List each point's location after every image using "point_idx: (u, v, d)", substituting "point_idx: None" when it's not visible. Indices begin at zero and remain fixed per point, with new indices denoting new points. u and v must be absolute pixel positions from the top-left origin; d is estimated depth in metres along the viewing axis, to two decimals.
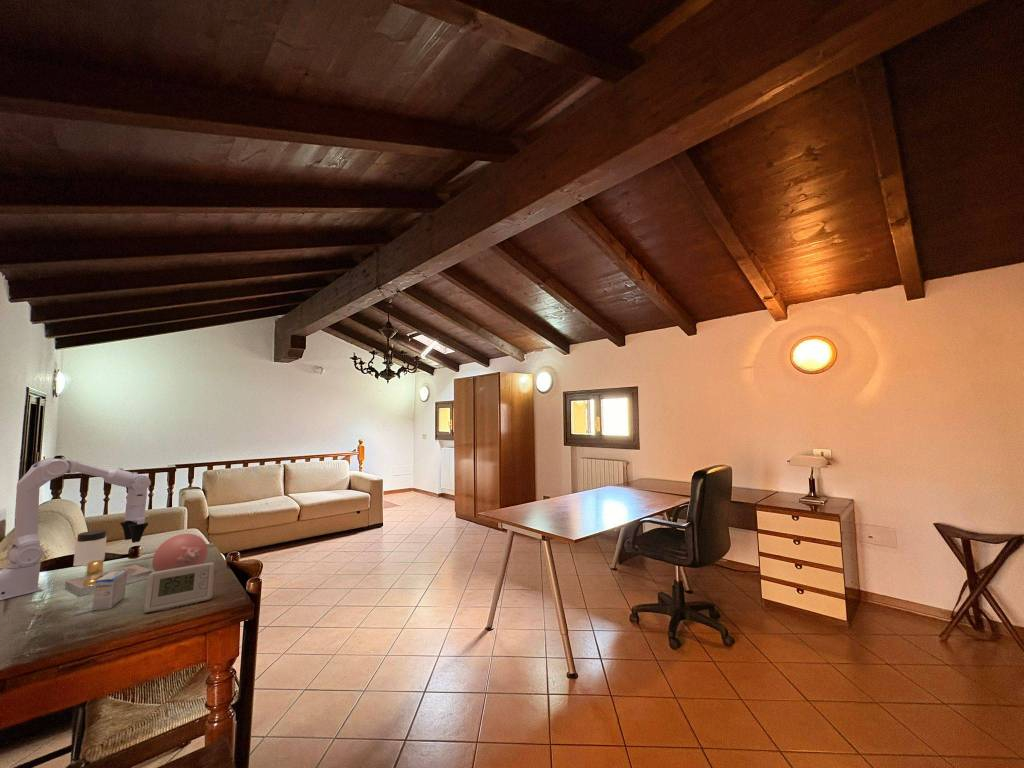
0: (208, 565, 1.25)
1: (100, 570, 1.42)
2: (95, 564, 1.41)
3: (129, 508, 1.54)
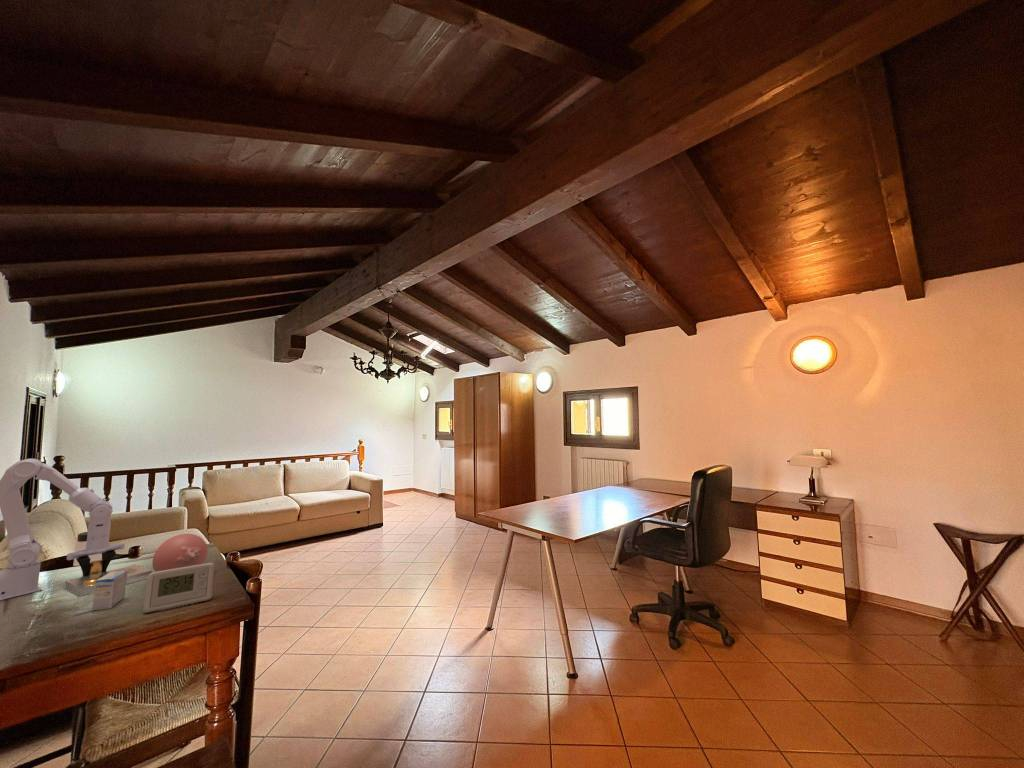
0: (208, 565, 1.25)
1: (100, 570, 1.42)
2: (95, 564, 1.41)
3: None
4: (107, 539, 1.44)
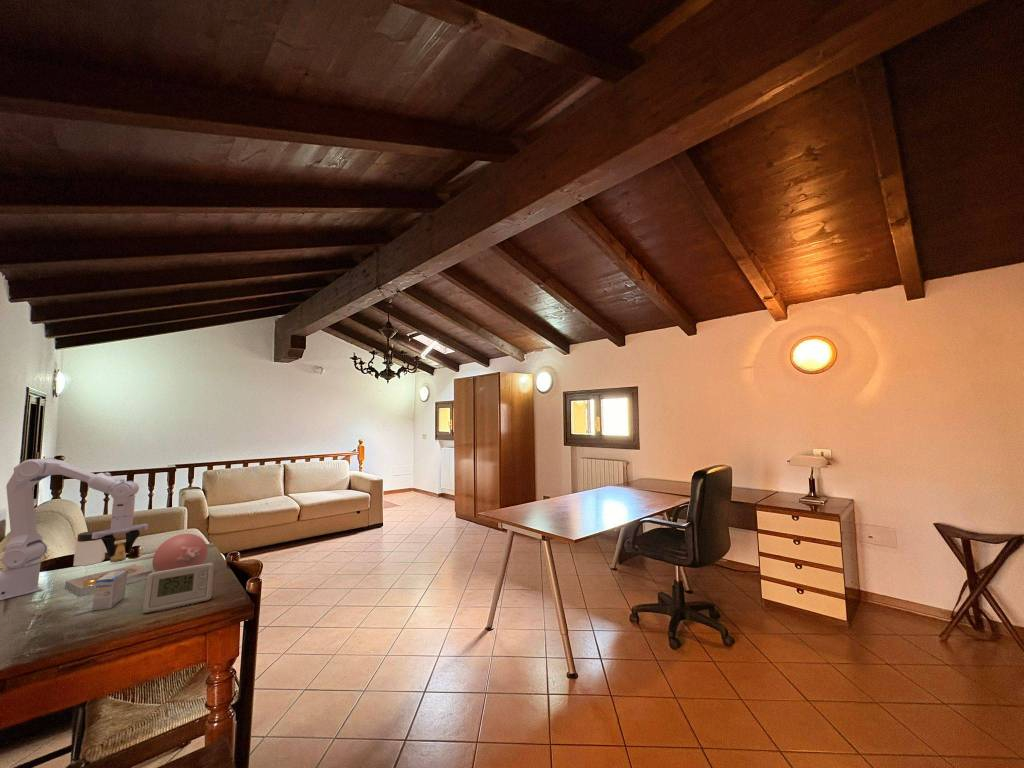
0: (207, 565, 1.25)
1: (124, 551, 1.41)
2: (119, 545, 1.40)
3: None
4: (131, 519, 1.43)
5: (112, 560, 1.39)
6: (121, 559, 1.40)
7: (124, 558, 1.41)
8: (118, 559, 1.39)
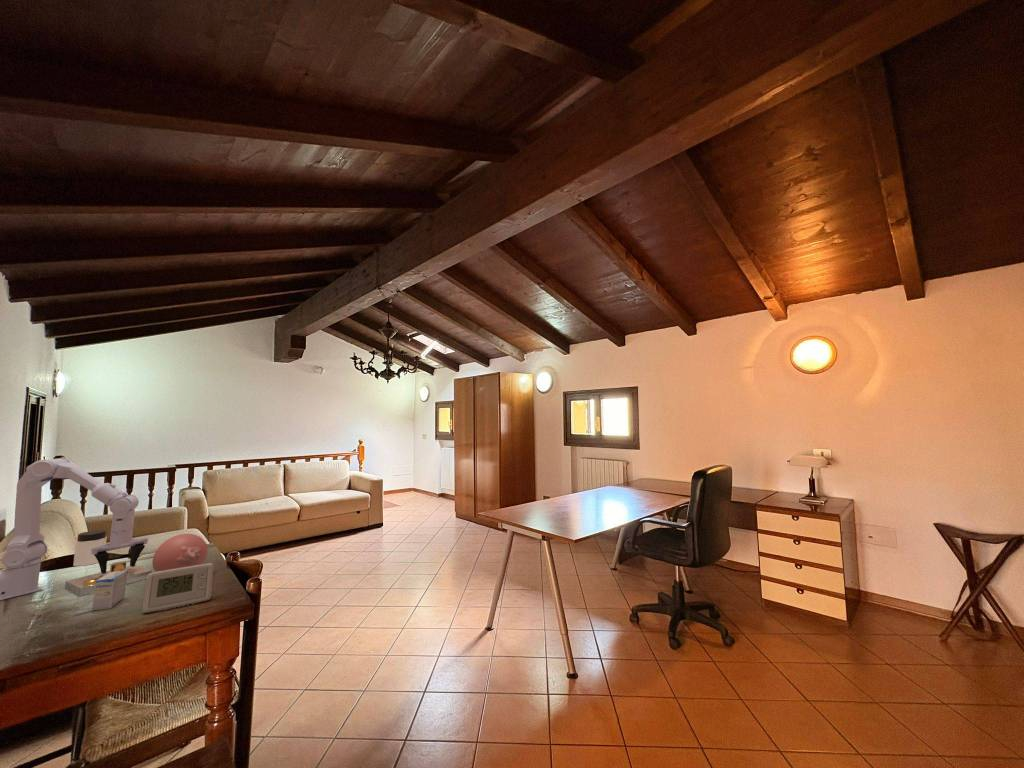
0: (207, 566, 1.25)
1: None
2: (118, 566, 1.39)
3: None
4: (131, 533, 1.42)
5: None
6: None
7: None
8: None
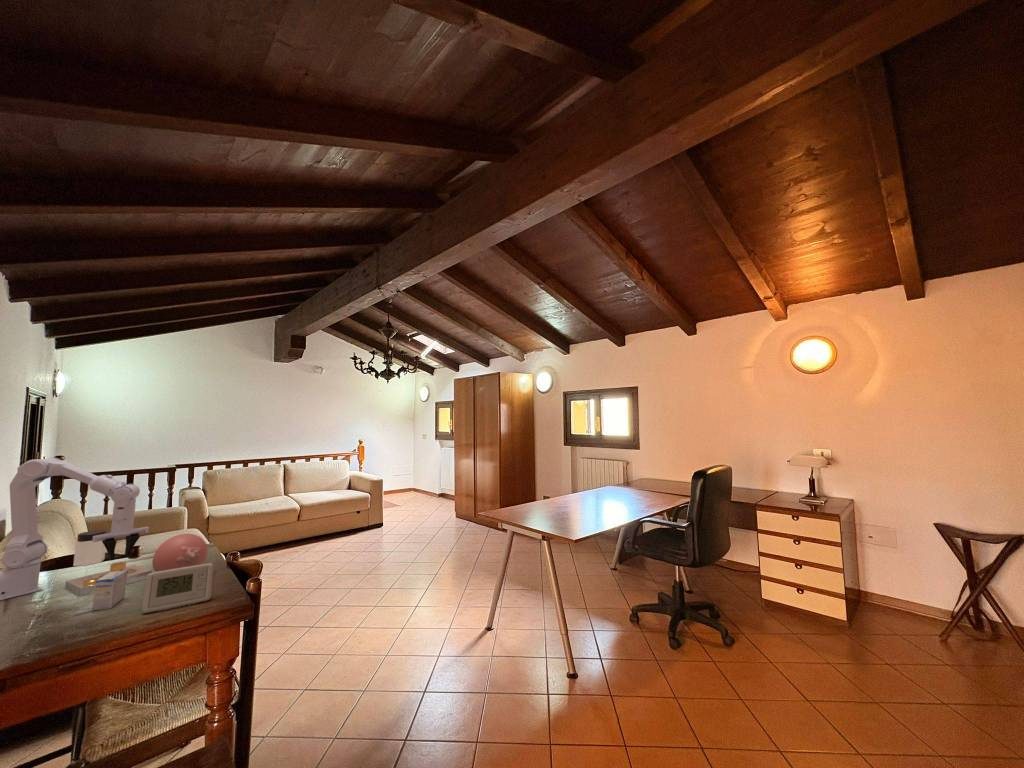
0: (207, 566, 1.25)
1: None
2: (118, 566, 1.39)
3: None
4: (132, 522, 1.42)
5: None
6: None
7: None
8: None
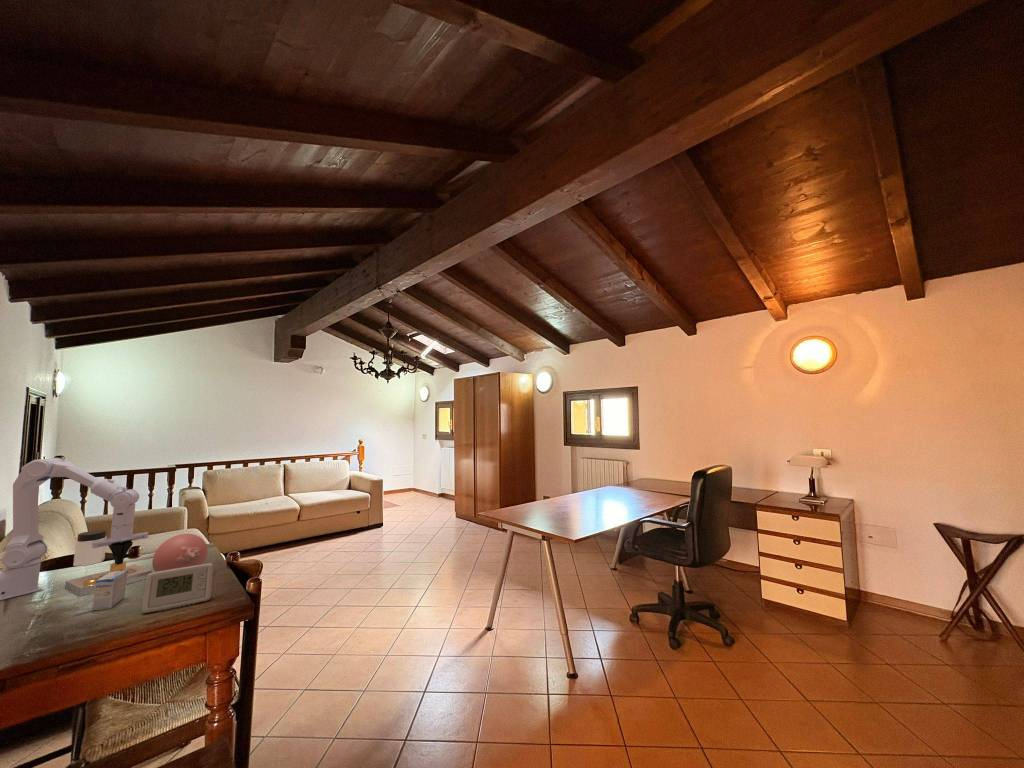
0: (206, 566, 1.25)
1: None
2: (118, 566, 1.39)
3: None
4: (131, 528, 1.42)
5: None
6: None
7: None
8: None
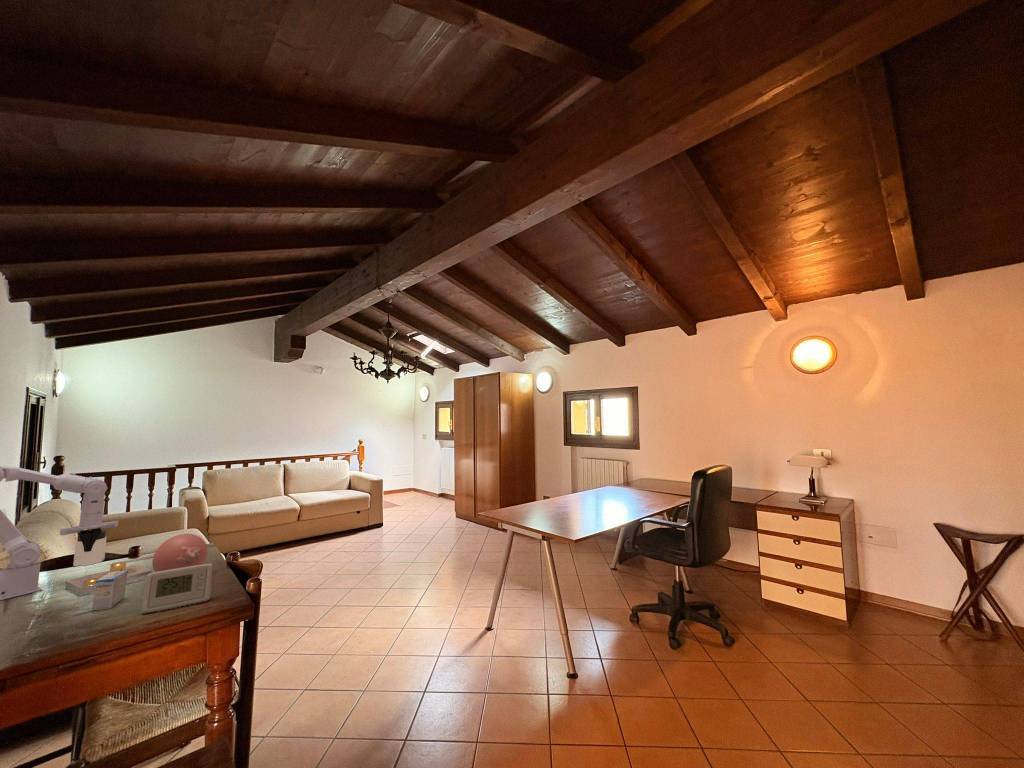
0: (206, 566, 1.24)
1: None
2: (118, 566, 1.39)
3: None
4: (100, 516, 1.44)
5: None
6: None
7: None
8: None
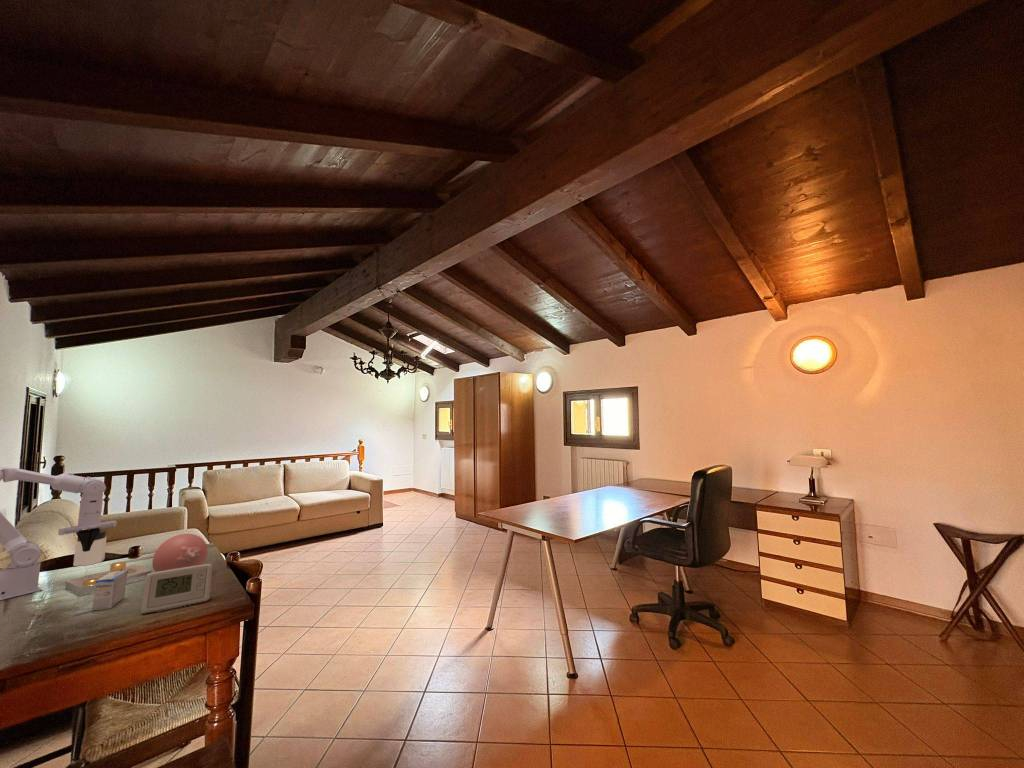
0: (206, 566, 1.24)
1: None
2: (118, 566, 1.39)
3: None
4: (99, 516, 1.44)
5: None
6: None
7: None
8: None
